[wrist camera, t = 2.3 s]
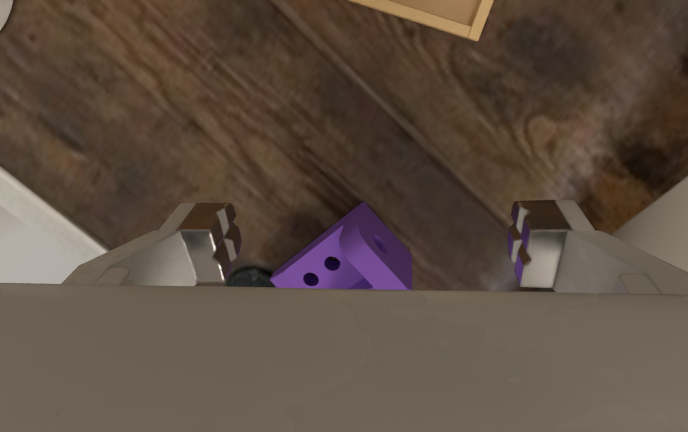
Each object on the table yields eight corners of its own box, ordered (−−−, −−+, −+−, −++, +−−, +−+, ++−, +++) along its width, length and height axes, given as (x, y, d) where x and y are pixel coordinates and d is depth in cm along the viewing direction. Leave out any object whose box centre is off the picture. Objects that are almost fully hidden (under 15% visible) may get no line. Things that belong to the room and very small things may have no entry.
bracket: (363, 201, 40) (355, 232, 33) (411, 254, 41) (412, 293, 35) (274, 271, 44) (251, 311, 38) (320, 317, 45) (306, 363, 39)
